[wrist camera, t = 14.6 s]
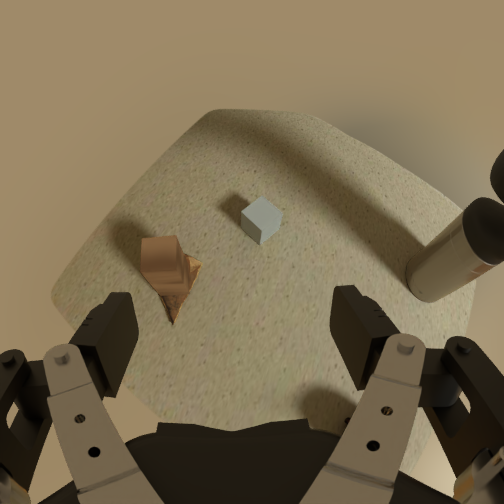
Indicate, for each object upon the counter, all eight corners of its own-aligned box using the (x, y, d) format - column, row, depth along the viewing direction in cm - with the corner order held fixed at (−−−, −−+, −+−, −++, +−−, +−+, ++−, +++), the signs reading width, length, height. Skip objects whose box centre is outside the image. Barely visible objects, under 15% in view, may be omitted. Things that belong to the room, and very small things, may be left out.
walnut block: (160, 268, 46) (141, 238, 36) (188, 265, 46) (176, 235, 37) (160, 295, 44) (139, 271, 35) (189, 293, 44) (175, 269, 35)
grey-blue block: (260, 212, 52) (262, 195, 47) (279, 229, 50) (282, 213, 46) (240, 227, 50) (241, 211, 46) (259, 245, 49) (261, 230, 44)
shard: (174, 326, 44) (172, 324, 42) (133, 305, 45) (129, 302, 43) (205, 265, 48) (204, 261, 46) (164, 248, 49) (162, 243, 47)
